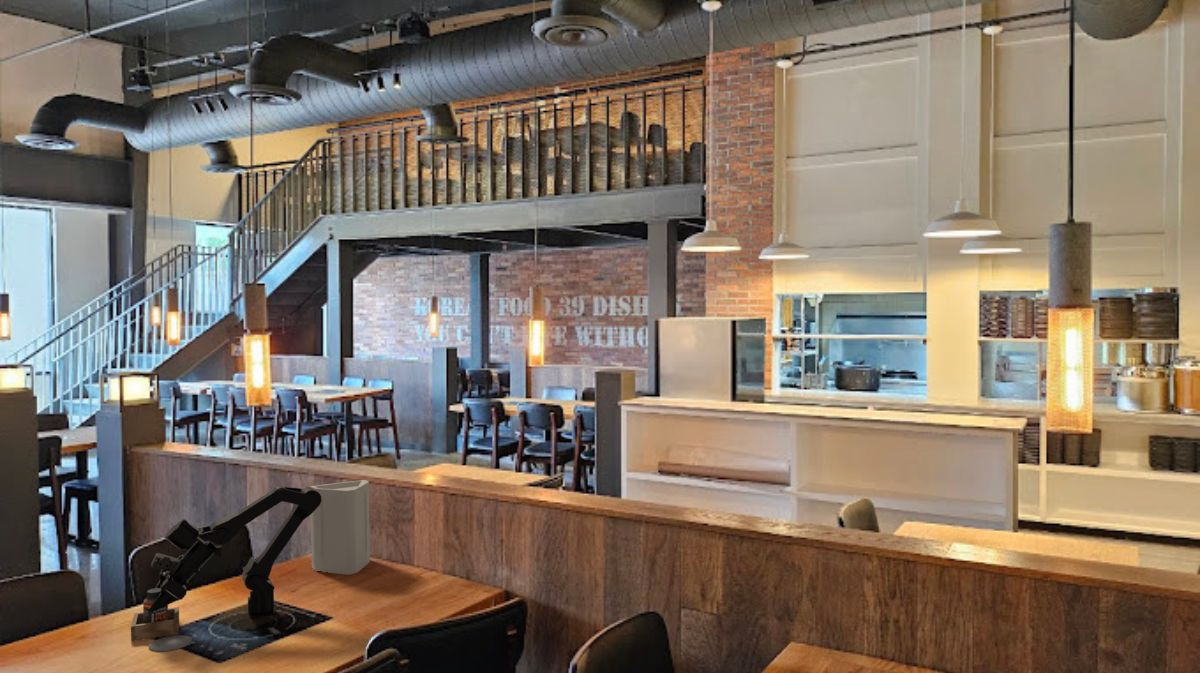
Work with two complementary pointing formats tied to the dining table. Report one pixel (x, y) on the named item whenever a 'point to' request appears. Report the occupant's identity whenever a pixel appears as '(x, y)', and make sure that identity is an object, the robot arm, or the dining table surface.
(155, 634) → the walnut box
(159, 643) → the rubber mat
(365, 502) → the grey rounded wastebasket
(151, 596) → the supplement bottle
